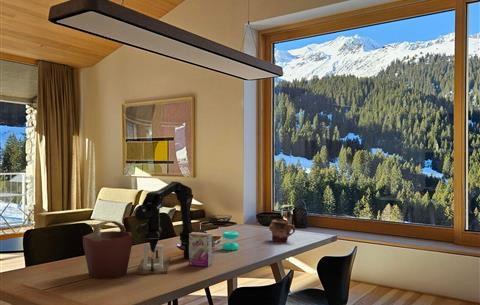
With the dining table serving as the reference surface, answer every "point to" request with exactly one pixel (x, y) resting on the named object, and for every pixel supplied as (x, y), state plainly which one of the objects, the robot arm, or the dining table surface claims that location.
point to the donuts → (230, 245)
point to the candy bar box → (200, 249)
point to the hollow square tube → (160, 265)
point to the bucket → (107, 251)
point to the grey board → (156, 261)
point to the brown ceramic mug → (281, 230)
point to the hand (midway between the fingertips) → (153, 249)
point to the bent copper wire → (153, 259)
